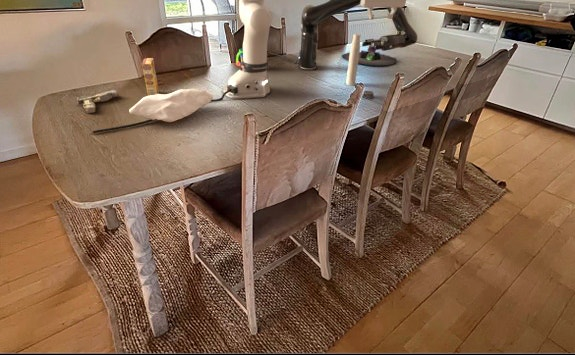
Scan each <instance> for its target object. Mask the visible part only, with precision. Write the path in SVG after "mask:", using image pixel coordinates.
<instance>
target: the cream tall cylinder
mask: <svg viewBox="0 0 575 355" xmlns="http://www.w3.org/2000/svg"><path fill="white" fill-rule="evenodd" d="M360 40H361V34H360V33H353V37H352V41H351V43H350V44H351V45H350V48H349V53H350V56H349V61H348V65H347V73H346V81H345V85H347V86H351V87H352V86H355V85H356V81H357V72H358V64H359V63H358V59H359V52H361V41H360Z"/></svg>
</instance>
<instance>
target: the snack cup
mask: <svg viewBox="0 0 575 355" xmlns="http://www.w3.org/2000/svg"><path fill="white" fill-rule="evenodd" d="M237 61H239V62H240V63H241V62H242V61H243V47H242V48H239V49H238V52H237V53H236V58H235V63H236V62H237Z"/></svg>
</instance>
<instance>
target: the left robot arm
mask: <svg viewBox="0 0 575 355" xmlns="http://www.w3.org/2000/svg"><path fill="white" fill-rule="evenodd" d="M238 1H239V6H238V7H239V8H238V10H239V11H238V16H239V19H240V21H241V23H242V24H243V25H244V34H243V40H242V41H243V42H242V48H243V61H242V62H241V61H240V60H239V61H237V62H236V61H235V65H236V66H237V67H239V69H237V71H236V72H235V73H234V74H232V75H231V76H230V77H229V78H228V81H227V85H226V87H224V88H223V91H222V92H223V94H222V96H221V97H220V98H216V99H212V100H211V101H210V102H219V101H223V99H224V98H225V96H226V97H228V98H230V99H233V100H236V99H237V100H238V99H239V100H240V99H253V98H254V99H255V98H264V97H266V95H268V94H269V93H270V92H271V88H270V84H269V78H268V76H269V75H268V72H269V61H268V52H267V51H268V41H269V36H270V35H269V34H270V27H271V25H272V16H271V14H270V11H269V9H268V8H267V7H265V0H238ZM406 3H407V0H361V2H360V5H359V6H360V7H362V8H365V9H366V10H367V13H368V20H374V17H375V14H373V11H374V9H375V8H376V9H377V8H378V9H379V8H380V9H381V8H384V9H385V8H387V7H391V9H392V11H391V13H390V14H389V13H388V14H387V19H389V20H392V18H393V14H394V13H395V12H396V10H397V7H401V8H404V7H405V6H406ZM157 120H158V119H155V120H152V119H146V120H143V121H139V122H135V123H130V124H125V125H120V126H114V127H110V128H100V129H96V130H95V129H94V130H92V133H93V134H98V133H104V132H109V131H115V130H121V129H126V128H131V127H135V126H136V127H137V126H140V125H143V124H147V123H148V124H149V123H151V122H154V121H157ZM158 121H159V120H158Z"/></svg>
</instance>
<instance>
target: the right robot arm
mask: <svg viewBox="0 0 575 355" xmlns="http://www.w3.org/2000/svg"><path fill="white" fill-rule="evenodd" d="M360 2H361V0H328V1H325V2H324V3H321V4H319V5H312V4H308V5H306V6H305V7H304V8H303V9H302V12H301V21H300V22H301V23H300V24H301V25H300V30H301V38H300V39H301V41H300V43H301V44H300V49H299V56H298V57H297V60H295V61H292V60H290V59H289V58H286V57H285V56H283V55H281V54H277V53H273V52H271V51H269V50H267V51H268V52H267V53H269V54H270V55H273V56H277V57H280V58H283V60H285V61H288V62H289V63H292V64H298V67H299V68H300V69H301V70H304V71H312V70H316V68H317V56H318V55H317V54H318V43H319V42H318V41H319V28H318V26H319V24H320V23H321V22H323V21H324V20H326V19H328V18H330V17H333V16H336V15H338V14H341V13H343V12H346V11H349V10H351V9H353V8H356V7H358V6H361V5H360ZM386 9H387V11H388V14H390V13H391V11H392V9H391V7H386ZM391 20H392V24H393V26H394V28H395V29H396V32H403V34H402V33H396V34H386V35H382V36H381V37H380V38H377V39H374V38H369V39H367V38H366V39H364V41H362V42H361V47H369V46H371V47H375V50H376V51H378V50H381V51H382V52H386V51H390V50H394V49H399V48H400V49H402V48H407V47H409V46H412V45H414V44H416V43H417V42H418V33H417V31H416V30H415V29H414V28H413V27H412V25H411V24H410V23H409V20H408V19H407V15H406V13H405V11H404V9H403V7H397V10H396V12H395V13H394V14H393V18H392V19H391Z"/></svg>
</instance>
